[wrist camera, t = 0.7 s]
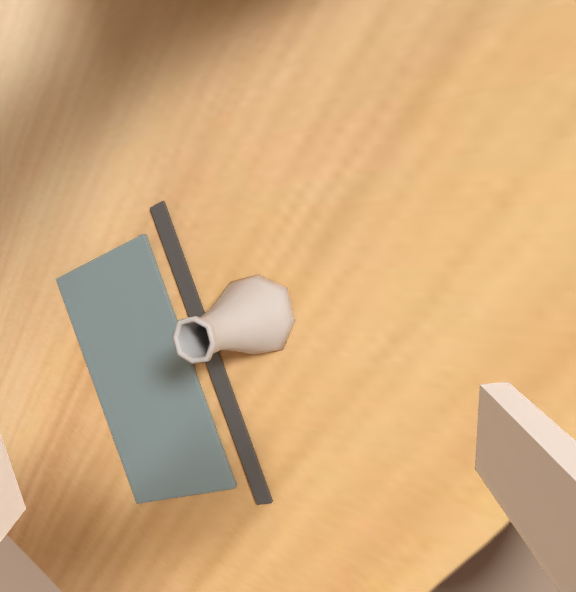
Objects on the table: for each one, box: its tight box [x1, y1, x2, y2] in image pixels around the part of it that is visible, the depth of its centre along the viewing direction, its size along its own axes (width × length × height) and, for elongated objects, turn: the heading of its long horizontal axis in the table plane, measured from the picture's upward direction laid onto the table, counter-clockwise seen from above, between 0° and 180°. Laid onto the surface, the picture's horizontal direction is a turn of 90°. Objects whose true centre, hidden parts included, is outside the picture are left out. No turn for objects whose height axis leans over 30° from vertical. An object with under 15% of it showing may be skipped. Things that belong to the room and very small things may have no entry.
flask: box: [173, 275, 295, 364], centre depth 30 cm, size 7×7×10 cm
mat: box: [56, 234, 237, 504], centre depth 40 cm, size 26×13×1 cm, turn 21°
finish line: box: [150, 201, 273, 505], centre depth 37 cm, size 30×2×1 cm, turn 21°
